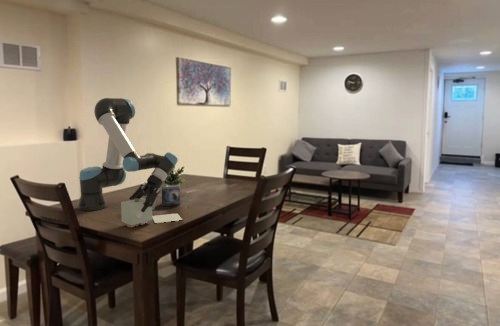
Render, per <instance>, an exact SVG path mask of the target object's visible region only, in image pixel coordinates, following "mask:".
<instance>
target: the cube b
mask: <svg viewBox="0 0 500 326" xmlns="http://www.w3.org/2000/svg"><path fill="white" fill-rule="evenodd" d="M135 226H136V227H139V224H136V225H129V224H126V227H128V228H136V227H135Z"/></svg>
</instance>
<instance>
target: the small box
mask: <svg viewBox="0 0 500 326" xmlns="http://www.w3.org/2000/svg"><path fill="white" fill-rule="evenodd" d="M180 189H181V188H180V187H179V186H162V187H161V206H162V207H168V206H169V207H171V206H180V205H181V199H180V197H181V195H180V194H181V192H180Z"/></svg>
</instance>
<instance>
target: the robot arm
mask: <svg viewBox="0 0 500 326" xmlns="http://www.w3.org/2000/svg"><path fill="white" fill-rule="evenodd" d="M135 115H136V108H135V105H134V103H133V101H132V100H130V99H127V98H122V97H121V98H117V97H115V98H112V97H104V98H101V99H100V100H98V101H97V102H96V104H95V106H94V117H95V120H96V121H97V122H98V124H99V125H101V126H102V127H103V129H104V130H105V131H106V133H107V135H108V142H107V149H106V156H105V157H106V158H105V161H104V162H103V163H102V166H89V167H84V168H82V169H81V170H80V171H79V177H78V179H79V184H80V185H79V186H80V187H79V188H80V189H79V190H80V197H79V201H78V204H77V208H78V209H77V210H79V211H84V212H85V211H86V212H87V211H88V212H89V211H99V210H102V209H105V208H107V201H106V199H105V197H104V194H103V189H104V188H110V187H115V186H120V185H121V184H124V182H125V180H126V177H127V172H128V173H129V172H137V171H142V170H150V169H153V171H152V172H151V174H150V175H149V176H148V178H147V179H146V181H147V182H146V184H140V185H139V186H138V188H137V190H135V191H134V192H133V193H132V195H131V196H130V197H129V200H134V199H135V198H139V199H140V198H143V197H144V195H146V194H147V196H146V197H145V198H146V200H145V203H143V204H142V206H141V207H140V209H139V210H138V212H137V213H136V214H135V216H136V217H137V218H140V217H141V215H142V214H143V212H145V210H146V209H147V207H152V205H153V203H154V201H155V199H156V200H157V197H158V195H160V193H161V190H160V188H161V186H162V185H163V183H164V182H165V181H166V179H167V177H168V176H169V175H170V173H171V172H172V170H173V169H174V167H176V164H177V163H178V161H179V159H178V157H177V156H176V155H175V154H174V153H172V152H169V151H168V152H166V153H165V154H164V155H160V154H156V153H153V152H152V153H151V152H147V153H145V154H144V155H139V153H138V152H137V150H136V149H135V147H134V146H133V144H132V143H131V141H130V140H129V138H128V136H127V135H126V129H127V126H128V125H129V124H130V120H131V119H133V118H134V117H135ZM150 203H151V204H150Z"/></svg>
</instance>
